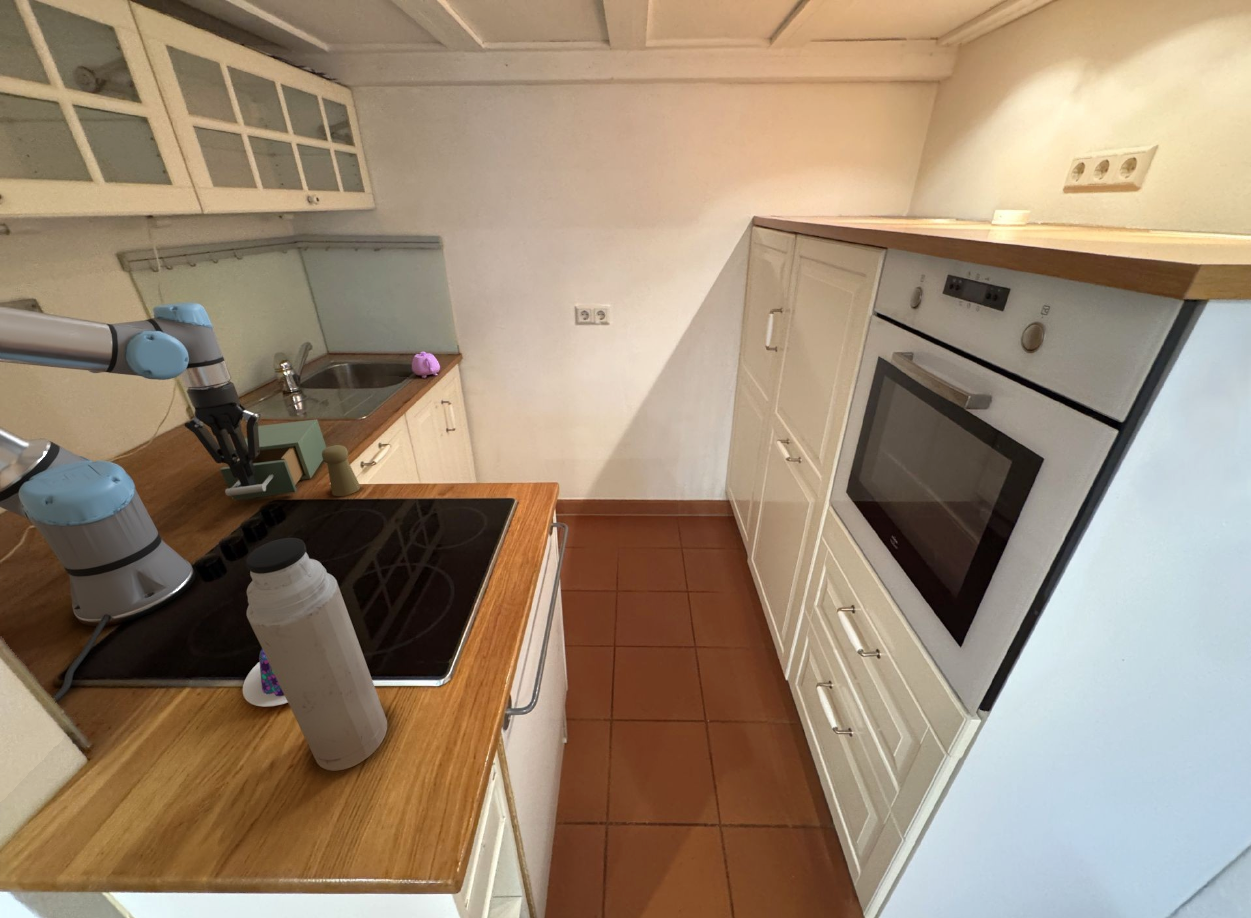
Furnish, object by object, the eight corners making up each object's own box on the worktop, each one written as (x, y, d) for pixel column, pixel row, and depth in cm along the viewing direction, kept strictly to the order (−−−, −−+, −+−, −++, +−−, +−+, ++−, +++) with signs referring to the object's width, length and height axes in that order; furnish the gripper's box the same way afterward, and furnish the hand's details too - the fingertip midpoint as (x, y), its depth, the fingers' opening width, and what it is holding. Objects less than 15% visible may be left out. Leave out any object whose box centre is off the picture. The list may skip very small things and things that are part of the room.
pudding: (305, 630, 77) (294, 604, 75) (362, 652, 73) (352, 625, 70) (224, 693, 67) (208, 665, 65) (284, 723, 63) (270, 694, 60)
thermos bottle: (298, 760, 58) (202, 569, 46) (350, 702, 65) (278, 522, 53) (353, 779, 56) (268, 583, 44) (401, 717, 63) (339, 533, 51)
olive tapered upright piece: (326, 492, 116) (311, 450, 112) (349, 481, 121) (336, 440, 116) (342, 498, 114) (328, 455, 109) (366, 486, 119) (353, 444, 114)
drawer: (285, 507, 109) (272, 475, 106) (219, 516, 107) (204, 483, 103) (314, 465, 128) (304, 436, 124) (258, 472, 125) (247, 443, 122)
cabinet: (310, 478, 123) (298, 442, 119) (247, 486, 120) (232, 450, 116) (328, 452, 137) (317, 419, 133) (272, 459, 134) (259, 425, 130)
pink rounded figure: (420, 380, 196) (415, 357, 192) (407, 373, 207) (402, 350, 203) (446, 375, 202) (441, 352, 198) (432, 368, 213) (427, 346, 209)
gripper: (254, 376, 103) (289, 477, 114) (181, 382, 101) (224, 485, 111) (238, 386, 97) (277, 492, 107) (160, 393, 94) (208, 501, 104)
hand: (250, 488), depth 109 cm, fingers closed
